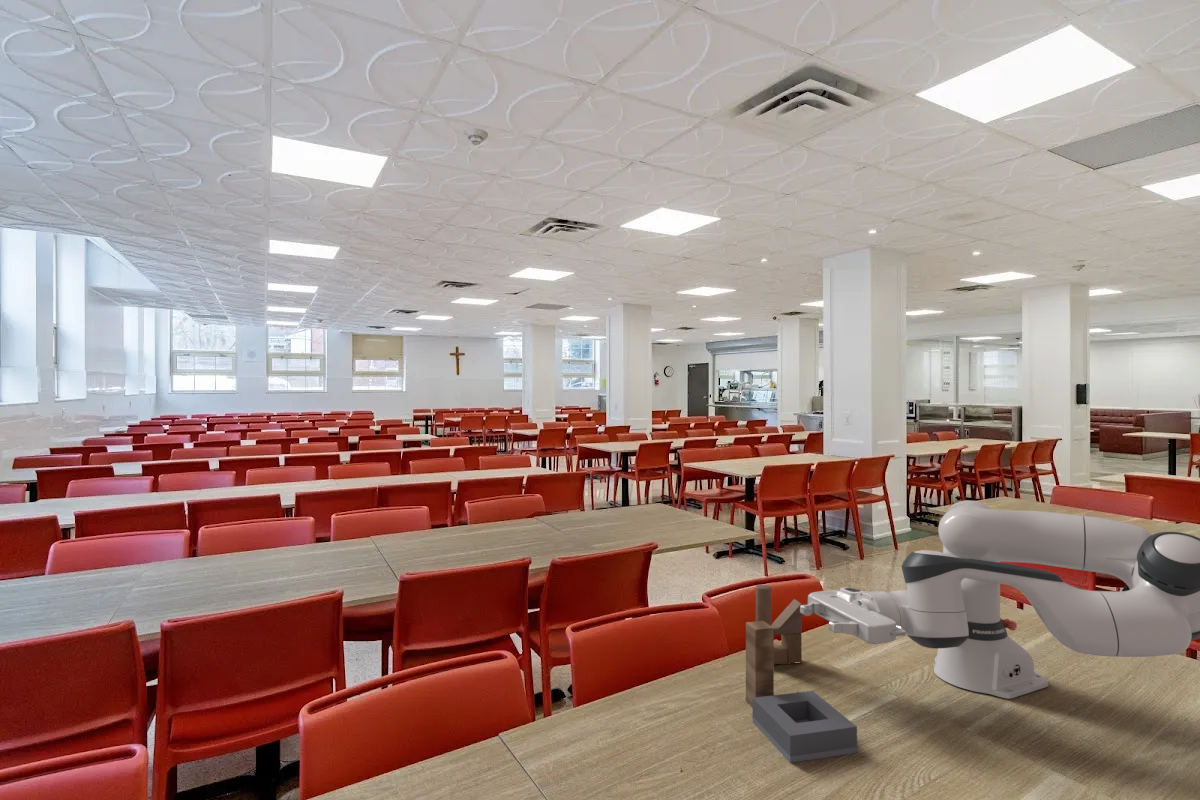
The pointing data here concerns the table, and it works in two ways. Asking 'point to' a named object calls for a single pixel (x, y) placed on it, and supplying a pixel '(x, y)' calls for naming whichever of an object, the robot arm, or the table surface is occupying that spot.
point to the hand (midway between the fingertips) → (816, 618)
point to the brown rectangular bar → (759, 660)
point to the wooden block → (782, 626)
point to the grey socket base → (804, 726)
